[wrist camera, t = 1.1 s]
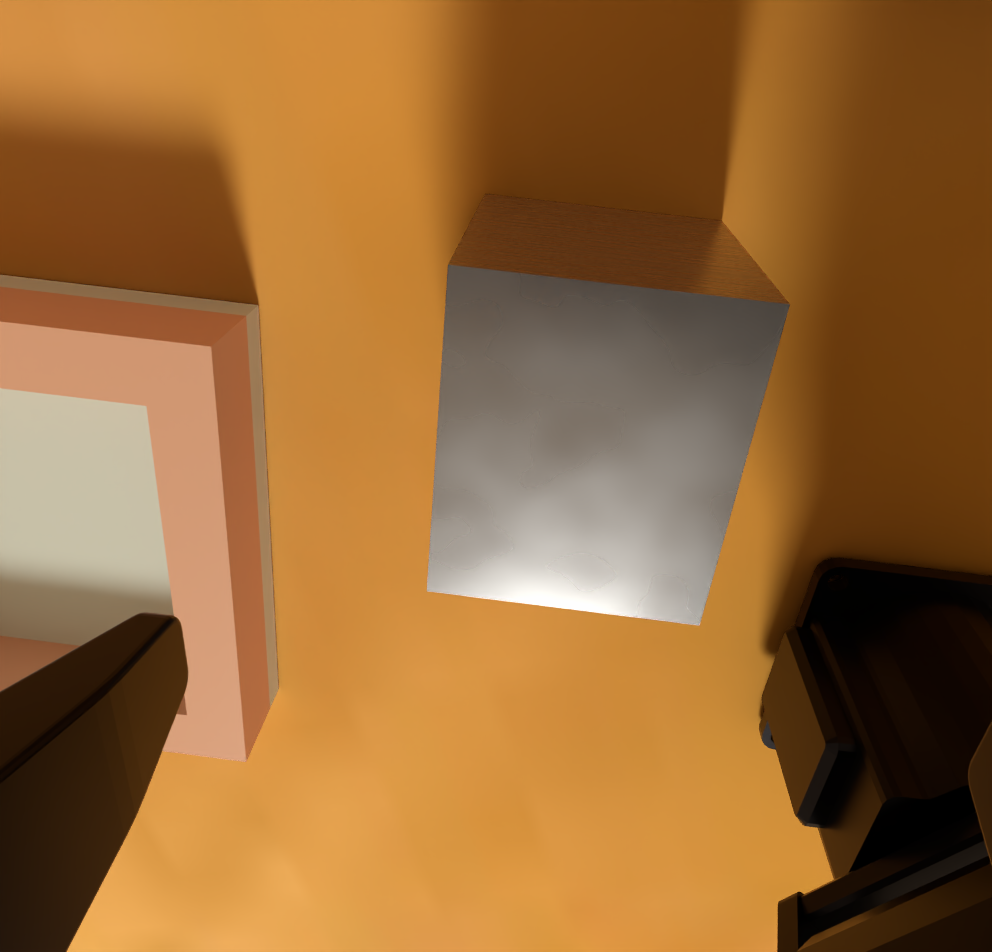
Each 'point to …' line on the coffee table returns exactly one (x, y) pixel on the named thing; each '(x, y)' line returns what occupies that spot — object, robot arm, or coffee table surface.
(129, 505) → the square tray
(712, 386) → the grey metal box
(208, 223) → the coffee table surface
